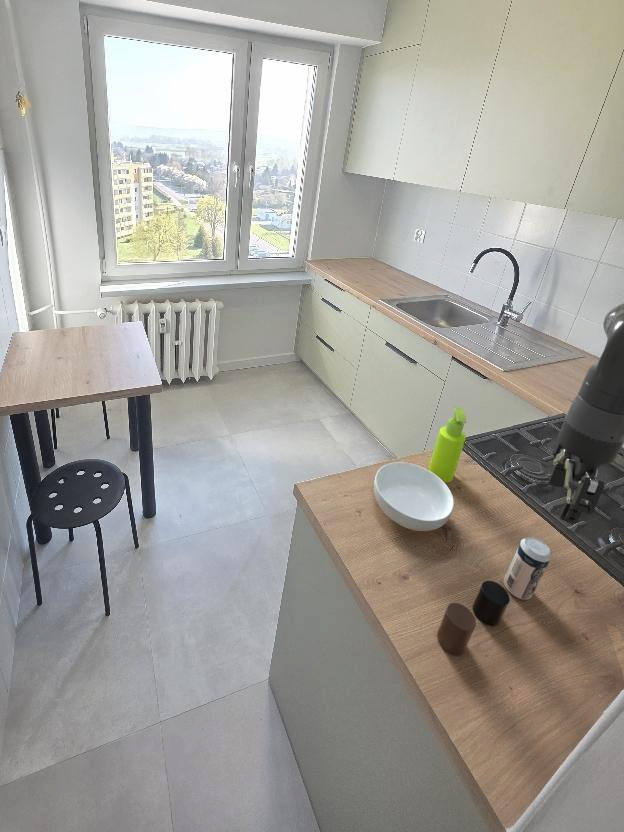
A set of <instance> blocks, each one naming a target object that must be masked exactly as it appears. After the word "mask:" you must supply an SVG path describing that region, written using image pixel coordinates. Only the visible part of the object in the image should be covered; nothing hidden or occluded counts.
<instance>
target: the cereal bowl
mask: <svg viewBox="0 0 624 832" xmlns="http://www.w3.org/2000/svg"><path fill="white" fill-rule="evenodd" d="M373 483H374V484H373V492H374V493H373V494H374V497H375V500H376V503H377V504H378V506H379V508H380V510H381V511H382V512H383V513H384V514H385V515H386V516H387V517H388V518H389V519H390V520H392V522H394V523H395V524H398V525H399V526H401V527H403V528H406V529H408V530H411V531H417V532H431V531H434V530H437V529H440V528H442V527H443V526H444V525H445V524H446V523H447V522H448V521H449V520H450V517H451V516H452V513H453V510H454V506H455V500H454V496H453V494H452V492H451V490H450V488H449V486H448V485H447V484H446V482H443V481H442V480H441V479H440V478H439V477H438V476H436V475H435V474H434V473H432V472H431V471H429V470H428V469H427V468H425V467H422V466H421V465H418V464H414V463H410V462H404V461H395V462H390V463H387V464H384V465H382V466H381V467H380V468H378V470H377V472H376V474H375V477H374V481H373Z"/></svg>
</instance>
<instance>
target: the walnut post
mask: <svg viewBox="0 0 624 832" xmlns="http://www.w3.org/2000/svg"><path fill="white" fill-rule="evenodd" d="M476 627H477V622H476V616H475V614H474V613H473V612H472V611H471V610H470V609H469V608H468V607H467V606H465V605H464V604H461V603H459V602H451V603H449V604H448V605H447V607H446V610H445V613H444V615H443V617H442V620H441V622H440V625H439V627H438V630H437V633H436V638H437V641H438V643H439V646H440V647H441V648H442V649H443V650H444V651H445V652H446V653H448V654H449V655H452V656H454V657H459V656H462V655H464V654H465V652H466V649H467V647H468V644H469V642H470V640H471V637H472V635H473V632H474V631H475V629H476Z"/></svg>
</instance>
